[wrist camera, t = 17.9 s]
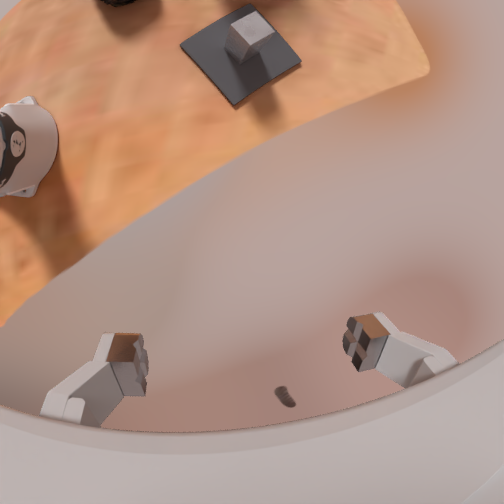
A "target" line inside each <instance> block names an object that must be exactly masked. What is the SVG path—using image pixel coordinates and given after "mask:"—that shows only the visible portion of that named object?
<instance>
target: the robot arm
mask: <svg viewBox="0 0 504 504" xmlns="http://www.w3.org/2000/svg"><path fill="white" fill-rule="evenodd" d="M57 146H58V133H57V127H56V124H55V121H54V119H53V117H52V116H51V115H50V113H49V112H48V111H46V110H45V109H43V108H41V107H40V106H39V105H38V104H37V102H36V100H35V98H34V97H33V96H27V97H25V98H23V99H22V100H20V101H18V102H17V103H8V104H5V106H4V107H2V108H1V109H0V197H3V196H5V195H12V196H20V197H32V196H34V195H35V193H36V191H37V188H38V185H39V183H40V181H41V180H42V179H43V177H44V176H45V175H46V174H47V173H48V171H49V170H50V168H51V166H52V164H53V162H54V159H55V156H56V152H57ZM25 189H26V192H25ZM347 327H348V330H347V331H346V332H345V333H344V336H343V348H344V350H345V352H346V354H347V355H349V356H351V357H352V363H353V365H354V366H355V368H356V369H357V371H358V372H361V371H365V370H370V369H374V368H375V369H376V370H377V371H379V372H380V373H382V374H384V375H385V376H387V377H388V378H390V379H391V380H393V381H394V382H396V383H398V384H399V385H401V386H402V387H404V388H405V389H403V390H401V391H398V392H395V393H393V394H390V395H387V396H384V397H381V398H378V399H375V400H372V401H369V402H366V403H363V404H360V405H357V406H353V407H350V408H346V409H343V410H339V411H335V412H331V413H328V414H323V415H319V416H315V417H310V418H305V419H301V420H296V421H290V422H285V423H279V424H273V425H266V426H259V427H251V428H242V429H233V430H221V431H206V432H144V431H128V430H116V429H107V428H101V426H100V425H101V424H102V423H103V421H104V420H105V419H106V418H107V417H108V415H109V414H110V413H111V412H112V411H113V410H114V408H115V407H116V406H117V405H118V404H119V402H120V401H121V400H122V398H124V396H145V392H146V385H147V382H146V379H145V377H146V376H147V375H148V356H147V352H146V350H145V349H143V345H144V340H143V337H142V335H141V334H134V333H103V334H102V336H101V339H100V341H99V344H98V347H97V349H96V352H95V355H94V358H93V361H88V362H87V363H85V364H84V365H83V366H82V367H80V368H79V369H78V370H77V371H75V372H74V373H73V374H71V375H70V376H68V377H67V378H66V379H64V380H63V381H62V382H61V383H59V384H58V385H57V386H55V387H54V388H53V389H51V390H50V391H49V392H48V393H47V396H46V398H45V401H44V404H43V407H42V409H41V412H40V415H39V416H36V415H32V414H29V413H25V412H22V411H18V410H15V409H12V408H9V407H6V406H3V405H0V504H504V340H501V341H499V342H497V343H496V344H495V345H493V346H491V347H489V348H488V349H486V350H484V351H483V352H481V353H479V354H477V355H476V356H474V357H472V358H470V359H468V360H467V361H465V362H463V363H461V364H459V363H458V361H457V360H456V359H455V358H454V357H453V356H452V355H451V354H450V353H449V352H448V351H447V350H446V349H445V348H442V347H439V346H437V345H435V344H432V343H430V342H427V341H425V340H422V339H420V338H418V337H415V336H413V335H410V334H408V333H405V332H400V331H399V330H398V329H397V328H396V327H395V326H394V324H392V322H391V321H390V320H389V319H388V318H387V317H386V316H385V315H384V314H383V313H382V312H375V313H370V314H367V315H361V316H355V317H350V318H349V319H348V322H347Z"/></svg>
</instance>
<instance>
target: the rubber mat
mask: <svg viewBox="0 0 504 504" xmlns="http://www.w3.org/2000/svg"><path fill="white" fill-rule="evenodd" d="M255 11H256V12H257V13H258V14H259V15H260V16H261V17H262V18H263V19H264V20H265V21H266V22H267V23H268V24H269V25H270V26H271V28H272V29H273V30H274V31H275V32H274V34H273V35H272V36H271V38H270V39H269V40H268V42H267V43H266V44H265V46H264V47H263V48H262V50H261V51H260V53H258V54H256V55H255V56H253V57H251V58H250V59H248V60H247V61H245V62H243V63H242V64H240V65H239V64H238V63H237V62H236V61H235V59H234V58H233V57H232V56H231V55H230V54H229V53H228V52H227V51H226V49H225V48H224V46H225V42H226V38H227V35H228V31H229V28H230V24H232V23H234V22H236V21H237V20H239V19H241V18H243V17H245V16H247V15H249V14H251V13H253V12H255ZM180 46H181V47H182V48H183V50H184V51H185V52H186V53H187V54H188V55H189V56H190V57H191V58H192V59H193V60H194V61H195V62H196V63H197V65H198V66H199V67H200V68H201V69H202V70H203V71H204V72H205V73H206V74H207V76H208V77H209V78H210V79H211V80H212V81H213V82H214V84H215V85H216V86H217V87H218V88H219V89H220V90H221V92H222V93H223V94H224V95H225V96H226V97H227V99H228V100H229V101H230V102H231V103H232V105H233V106H234V105H235V104H237V103H238V102H239V101H241V100H242V99H244V98H245V97H246V96H248V95H249V94H251V93H252V92H254V91H255V90H257V89H258V88H260V87H261V86H263V85H264V84H266V83H267V82H269V81H270V80H272V79H273V78H275V77H277V76H278V75H280V74H281V73H283V72H285V71H286V70H288V69H290V68H291V67H293V66H295V65H296V64H298V63H300V62H301V59H300V58H299V57H298V56H297V54H296V53H295V52H294V51H293V49H292V48H291V47H290V46H289V45H288V43H287V42H286V41H285V40H284V39H283V38H282V36H281V35H280V34H279V33H278V32H277V31H276V30H275V29H274V28H273V26H272V25H271V24H270V23H269V22H268V21H267V20H266V19H265V18H264V17H263V16H262V15H261V14H260V13H259V12H258V11H257V10H256V9H255V8H254V7H253V6H252V5H251V4H248V5H246V6H244V7H242V8H240V9H238V10H236V11H234V12H232V13H230V14H228V15H226V16H225V17H223V18H221V19H219V20H217V21H216V22H214V23H212V24H211V25H209V26H207V27H206V28H204V29H202V30H201V31H199V32H198V33H196V34H194V35H193V36H191V37H190V38H188V39H187V40H185V41H184V42H182V43H181V44H180Z"/></svg>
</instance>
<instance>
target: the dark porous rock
mask: <svg viewBox="0 0 504 504" xmlns="http://www.w3.org/2000/svg"><path fill="white" fill-rule="evenodd" d="M101 1H104V2H105V3H106V4H110V5H112V6H114V7H117V6H121V5H125V4H130V3H133V2H134V1H136V0H101Z"/></svg>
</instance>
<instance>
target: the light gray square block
mask: <svg viewBox="0 0 504 504" xmlns="http://www.w3.org/2000/svg"><path fill="white" fill-rule="evenodd" d="M274 32H275V31H274V30H273V29H272V28H271V26H270V25H269V24H268V23H267V22H266V21H265V20H264V19H263V18H262V17H261V16H260V15H259V14H258V13H257V12H256V11H255V12H253V13H251V14H249V15H247V16H245V17H243V18H241V19H239V20H237V21H236V22H234V23H232V24H230V28H229V31H228V35H227V38H226V42H225V46H224V48H225V49H226V51H227V52H228V53H229V54H230V55H231V56H232V57H233V58H234V59H235V61H236V62H237V63H238V64H239V65H240V64H242V63H243V62H245V61H247V60H248V59H250V58H251V57H253V56H255V55H256V54H258V53H260V51H261V50H262V48H263V47H264V46H265V44H266V43H267V42H268V40H269V39H270V38H271V36H272V35H273V34H274Z"/></svg>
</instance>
